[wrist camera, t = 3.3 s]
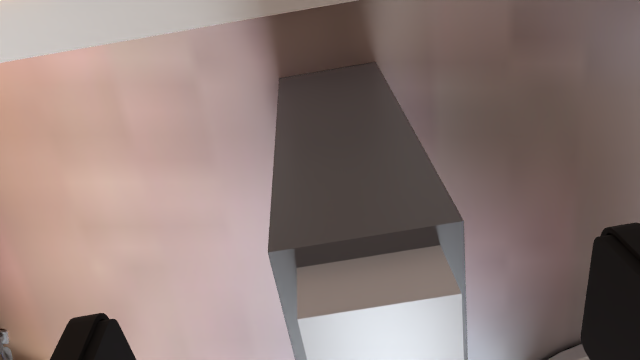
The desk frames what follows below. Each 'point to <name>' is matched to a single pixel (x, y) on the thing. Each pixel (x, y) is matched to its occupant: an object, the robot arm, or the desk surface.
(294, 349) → the grey long rectangular block
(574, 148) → the desk surface
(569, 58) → the desk surface
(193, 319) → the desk surface
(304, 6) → the socket block
